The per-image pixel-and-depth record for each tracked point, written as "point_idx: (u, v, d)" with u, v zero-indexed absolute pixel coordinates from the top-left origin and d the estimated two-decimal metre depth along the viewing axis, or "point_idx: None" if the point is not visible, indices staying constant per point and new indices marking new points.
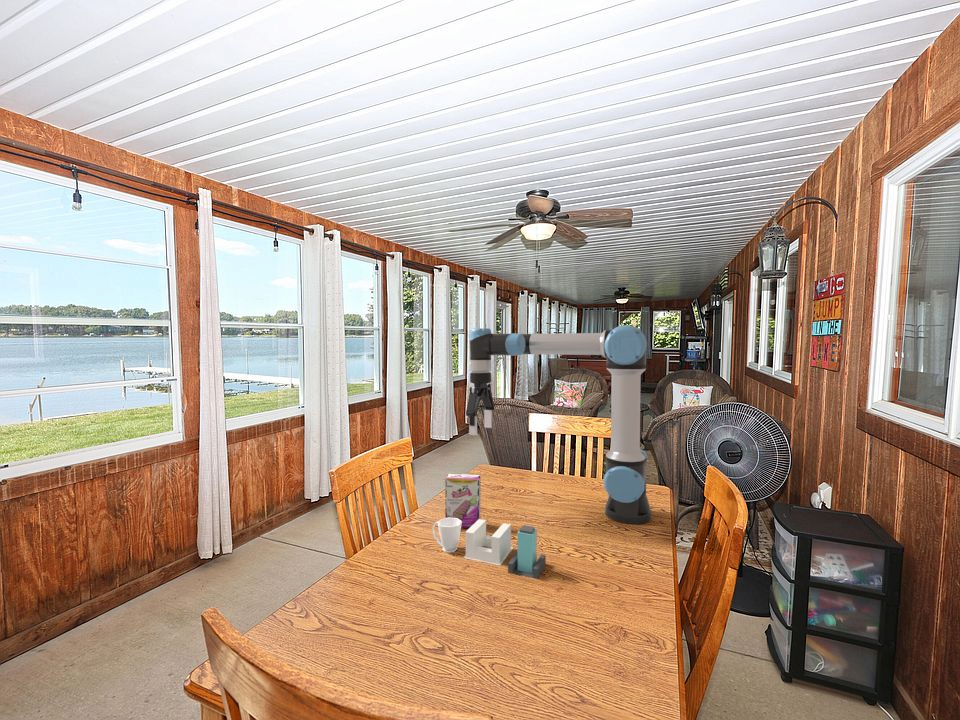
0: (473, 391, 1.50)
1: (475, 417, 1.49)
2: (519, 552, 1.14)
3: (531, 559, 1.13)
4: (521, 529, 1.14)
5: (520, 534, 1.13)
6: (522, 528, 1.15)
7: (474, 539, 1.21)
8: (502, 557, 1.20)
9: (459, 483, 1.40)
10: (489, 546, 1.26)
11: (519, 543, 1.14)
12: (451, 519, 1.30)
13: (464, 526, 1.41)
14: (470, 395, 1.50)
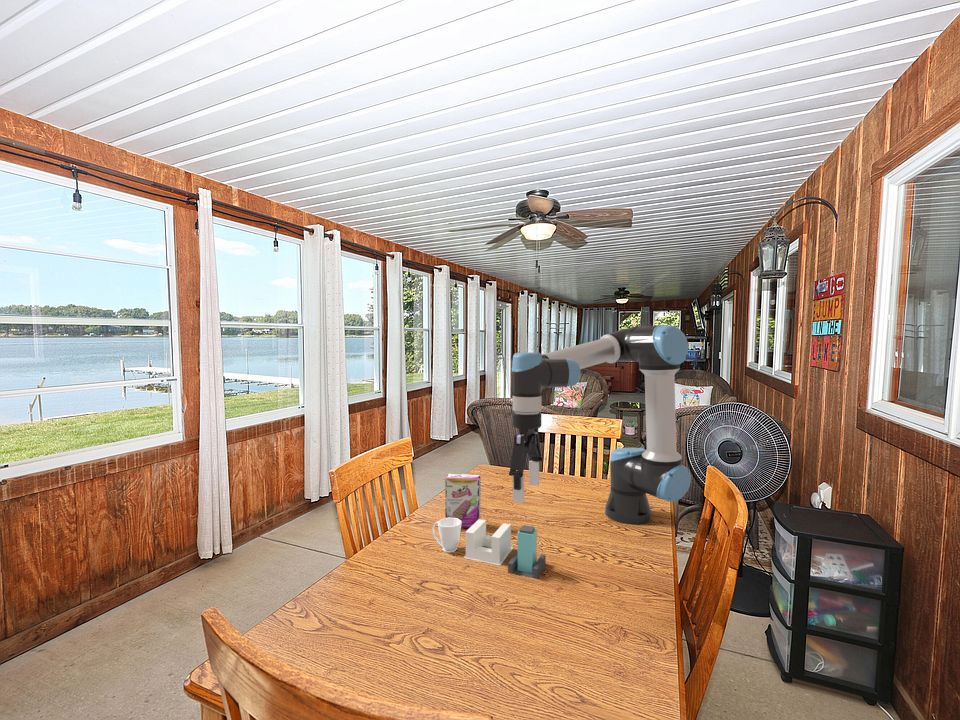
0: (519, 441, 1.07)
1: (522, 478, 1.07)
2: (519, 552, 1.14)
3: (531, 559, 1.13)
4: (521, 529, 1.14)
5: (520, 534, 1.13)
6: (522, 528, 1.15)
7: (474, 539, 1.21)
8: (502, 557, 1.20)
9: (459, 483, 1.40)
10: (489, 546, 1.26)
11: (519, 543, 1.14)
12: (451, 519, 1.30)
13: (464, 526, 1.41)
14: (515, 447, 1.07)
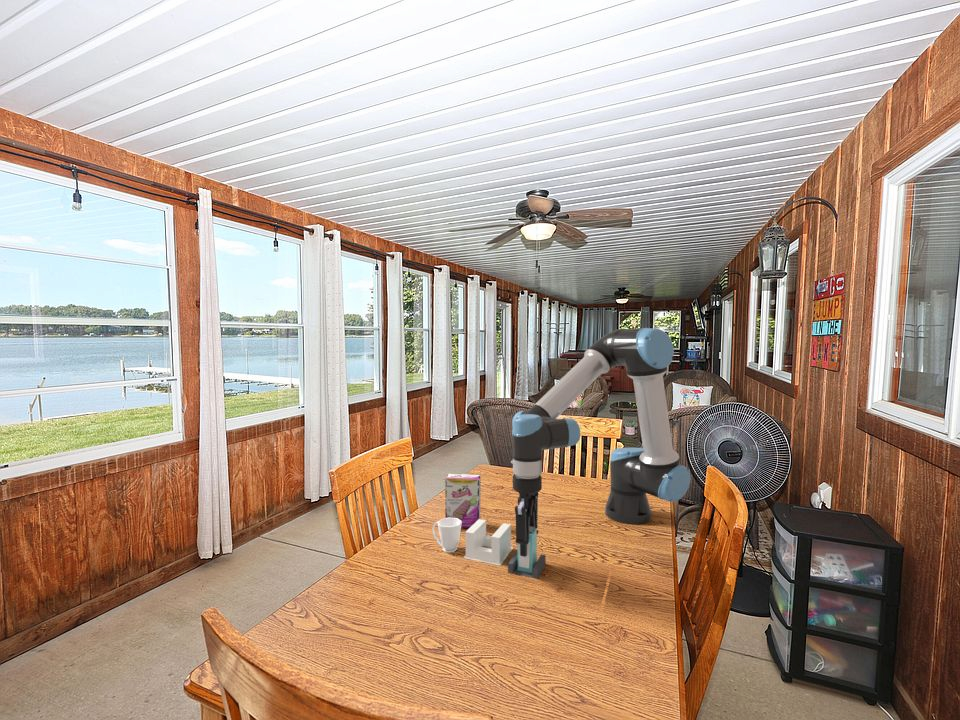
0: (520, 513, 1.09)
1: (528, 544, 1.12)
2: None
3: (531, 559, 1.13)
4: None
5: None
6: None
7: (474, 539, 1.21)
8: (502, 557, 1.20)
9: (459, 483, 1.40)
10: (489, 546, 1.26)
11: None
12: (451, 519, 1.30)
13: (464, 526, 1.41)
14: (517, 518, 1.09)
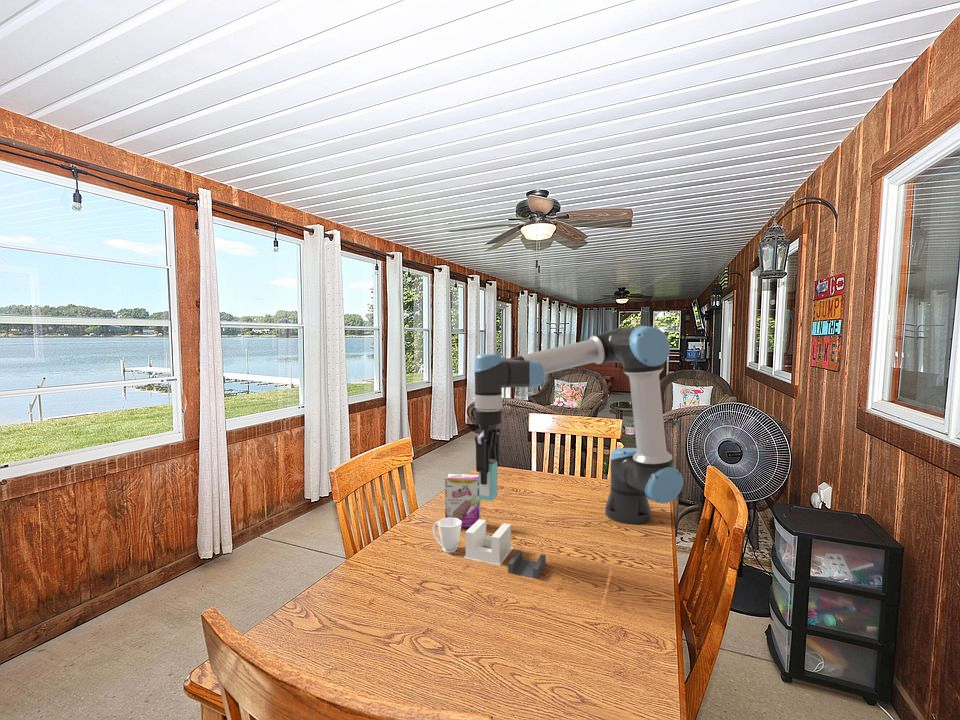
0: (480, 442, 1.16)
1: (488, 473, 1.20)
2: None
3: (491, 488, 1.20)
4: None
5: None
6: None
7: (474, 539, 1.21)
8: (502, 557, 1.20)
9: (459, 483, 1.40)
10: (489, 546, 1.26)
11: None
12: (451, 519, 1.30)
13: (464, 526, 1.41)
14: (477, 447, 1.17)
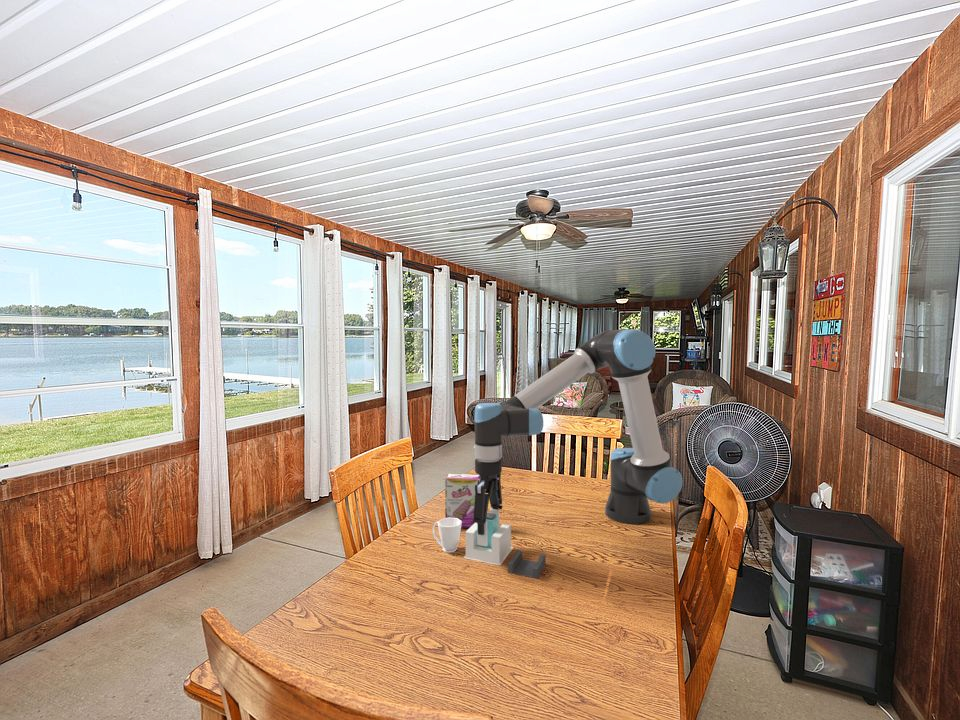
0: (479, 491, 1.17)
1: (485, 524, 1.18)
2: None
3: None
4: None
5: None
6: None
7: (474, 539, 1.21)
8: (502, 557, 1.20)
9: (459, 483, 1.40)
10: None
11: None
12: (451, 519, 1.30)
13: (464, 526, 1.41)
14: (476, 496, 1.17)
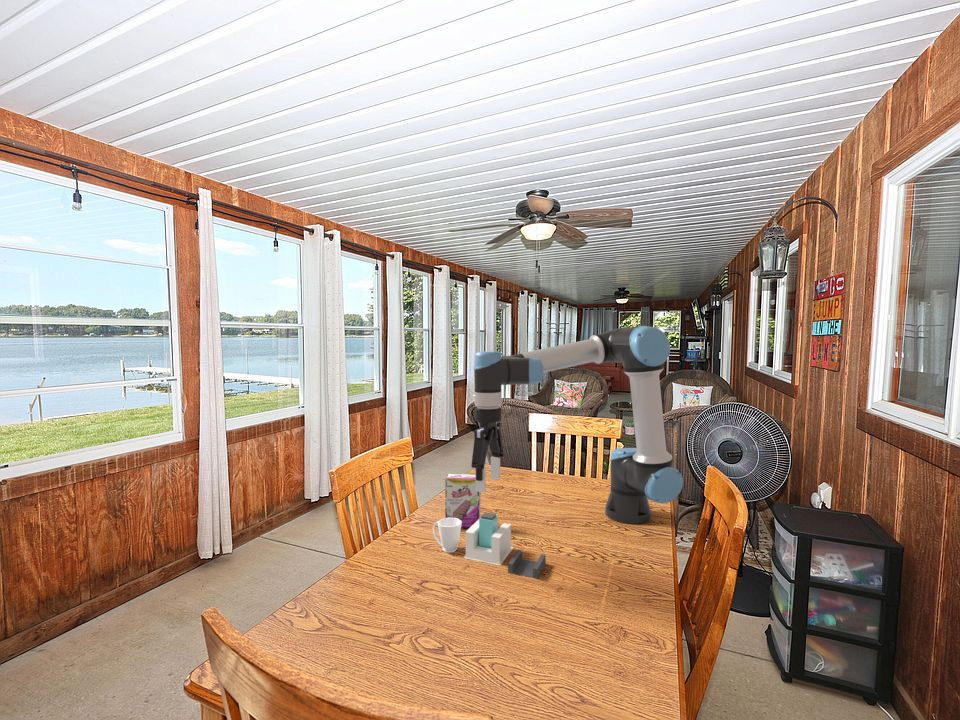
0: (479, 436, 1.16)
1: (483, 469, 1.17)
2: (481, 537, 1.22)
3: None
4: (482, 516, 1.23)
5: (481, 520, 1.22)
6: (484, 515, 1.23)
7: (474, 539, 1.21)
8: (502, 557, 1.20)
9: (459, 483, 1.40)
10: None
11: (480, 529, 1.22)
12: (451, 519, 1.30)
13: (464, 526, 1.41)
14: (475, 441, 1.16)
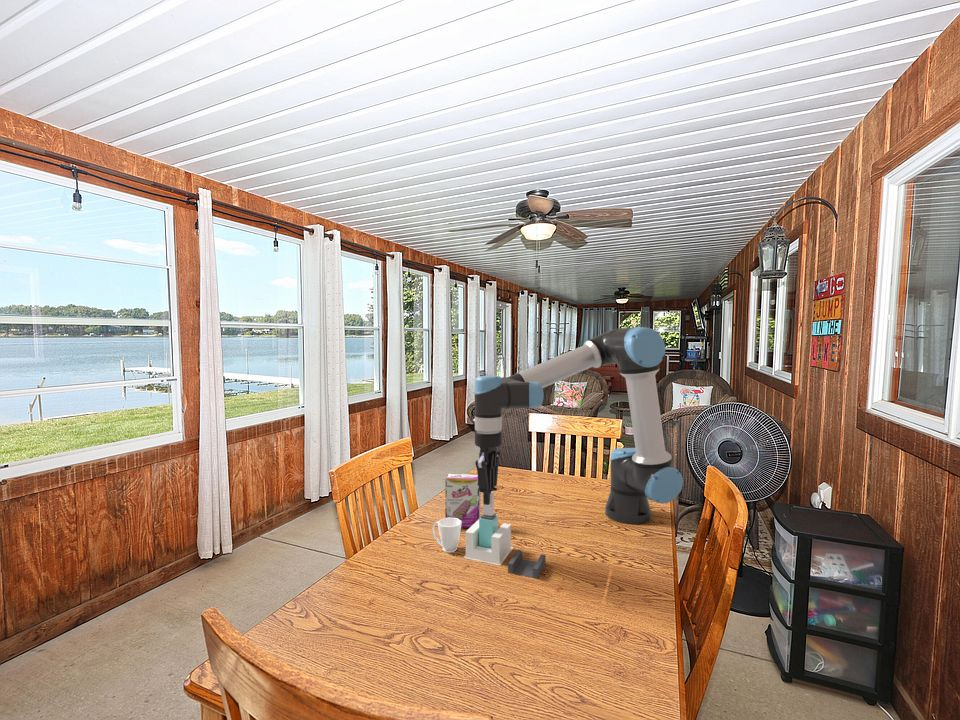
0: (481, 467, 1.17)
1: (490, 494, 1.22)
2: (481, 537, 1.22)
3: None
4: (482, 516, 1.23)
5: (481, 520, 1.22)
6: (484, 515, 1.23)
7: (474, 539, 1.21)
8: (502, 557, 1.20)
9: (459, 483, 1.40)
10: None
11: (480, 529, 1.22)
12: (451, 519, 1.30)
13: (464, 526, 1.41)
14: (478, 471, 1.18)
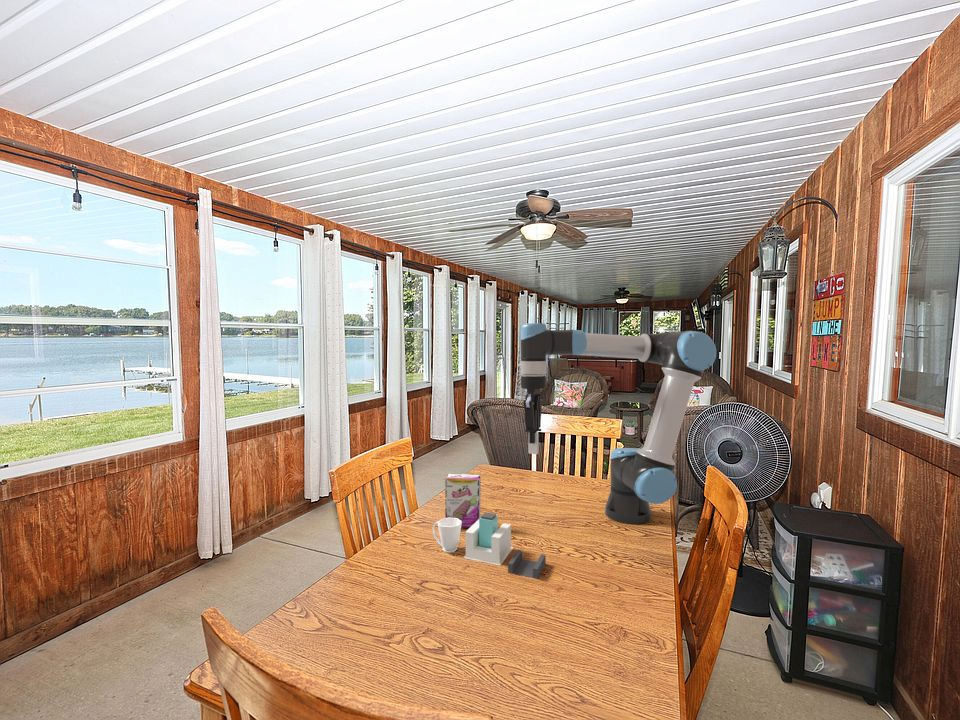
0: (528, 406, 1.26)
1: (536, 433, 1.31)
2: (481, 537, 1.22)
3: None
4: (482, 516, 1.23)
5: (481, 520, 1.22)
6: (484, 515, 1.23)
7: (474, 539, 1.21)
8: (502, 557, 1.20)
9: (459, 483, 1.40)
10: None
11: (480, 529, 1.22)
12: (451, 519, 1.30)
13: (464, 526, 1.41)
14: (526, 410, 1.27)
